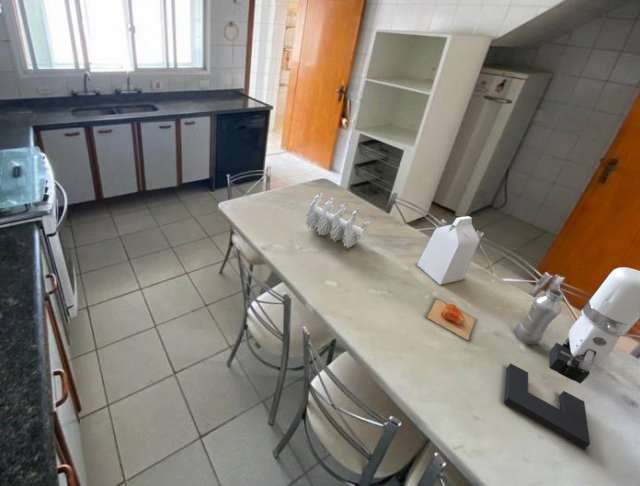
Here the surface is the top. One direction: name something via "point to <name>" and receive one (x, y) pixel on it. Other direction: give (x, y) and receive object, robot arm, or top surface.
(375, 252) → the top surface
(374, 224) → the top surface
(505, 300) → the top surface
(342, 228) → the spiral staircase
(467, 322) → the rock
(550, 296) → the plastic bottle
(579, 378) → the dark grey square block
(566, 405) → the dark grey u-shaped block
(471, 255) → the milk
